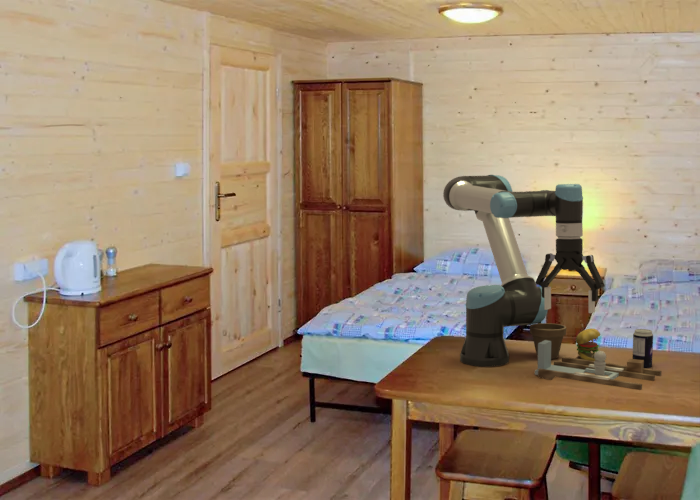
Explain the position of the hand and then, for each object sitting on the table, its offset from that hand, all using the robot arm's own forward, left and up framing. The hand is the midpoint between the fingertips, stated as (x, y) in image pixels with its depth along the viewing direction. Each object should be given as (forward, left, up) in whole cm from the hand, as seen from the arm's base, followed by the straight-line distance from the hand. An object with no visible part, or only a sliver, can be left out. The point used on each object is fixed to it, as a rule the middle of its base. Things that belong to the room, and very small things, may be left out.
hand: (569, 311), depth 262 cm
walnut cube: (+16, +9, -19) cm, 27 cm away
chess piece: (+9, +1, -20) cm, 22 cm away
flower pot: (-15, +19, -20) cm, 32 cm away
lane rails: (+8, +3, -20) cm, 22 cm away
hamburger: (-2, +20, -20) cm, 29 cm away
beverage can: (+15, +20, -20) cm, 32 cm away
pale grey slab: (+2, +1, -19) cm, 20 cm away
